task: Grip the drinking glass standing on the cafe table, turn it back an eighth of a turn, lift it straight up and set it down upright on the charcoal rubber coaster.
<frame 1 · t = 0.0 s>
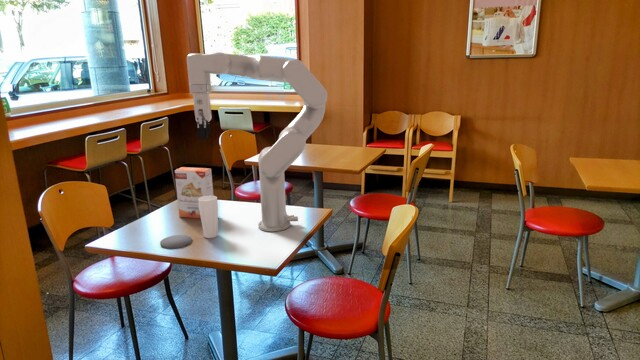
hand: (204, 136, 163), 37 cm above the table, tool pointing down, fingers open, 9 cm apart
cracker box: (197, 216, 188), on the table
drinking glass: (211, 236, 166), on the table
coaster: (176, 242, 161), on the table
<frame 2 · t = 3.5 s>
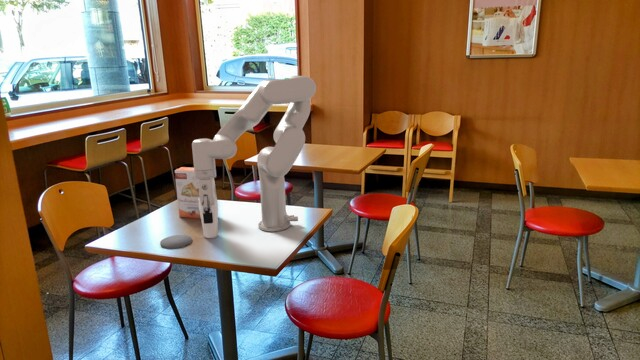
hand: (209, 219, 165), 7 cm above the table, tool pointing down, fingers closed on drinking glass, 6 cm apart
drinking glass: (211, 236, 166), on the table, touching gripper
everything else where it was.
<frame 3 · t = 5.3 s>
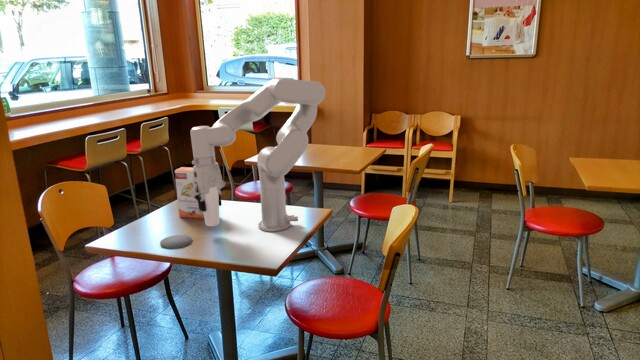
hand: (210, 207, 164), 11 cm above the table, tool pointing down, fingers closed on drinking glass, 6 cm apart
drinking glass: (212, 224, 165), point 4 cm above the table, touching gripper
everything else where it was.
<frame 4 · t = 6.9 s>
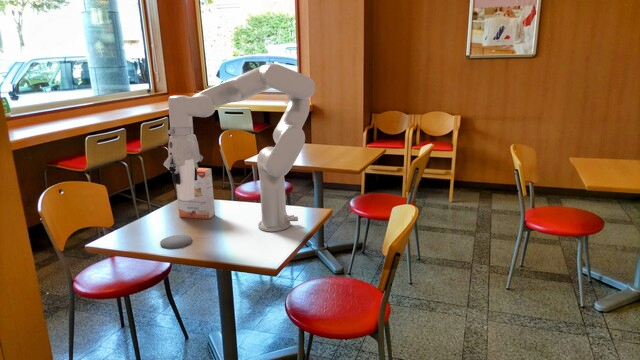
hand: (185, 181, 157), 22 cm above the table, tool pointing down, fingers closed on drinking glass, 6 cm apart
drinking glass: (187, 199, 159), point 15 cm above the table, touching gripper
everything else where it was.
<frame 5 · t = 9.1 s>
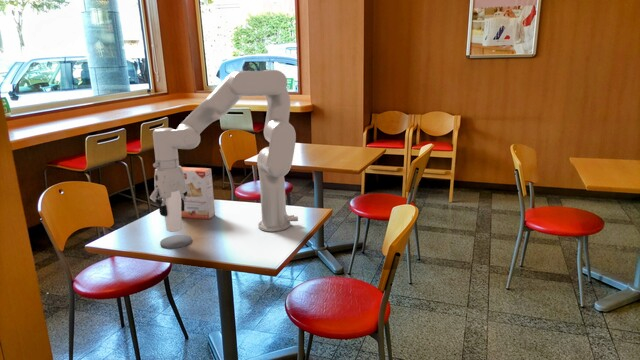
hand: (172, 212, 158), 12 cm above the table, tool pointing down, fingers closed on drinking glass, 6 cm apart
drinking glass: (174, 230, 160), point 5 cm above the table, touching gripper
everything else where it was.
when the fingers open (8 cm above the table, at t = 10.7 s): drinking glass stays where it is, resting on coaster.
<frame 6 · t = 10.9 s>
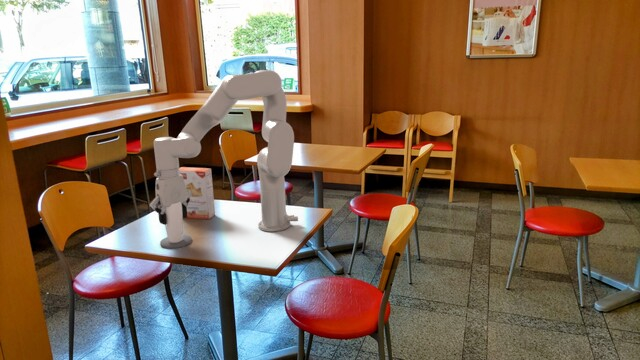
hand: (173, 219, 159), 9 cm above the table, tool pointing down, fingers open, 8 cm apart
drinking glass: (175, 241, 160), point 1 cm above the table, touching coaster
everything else where it was.
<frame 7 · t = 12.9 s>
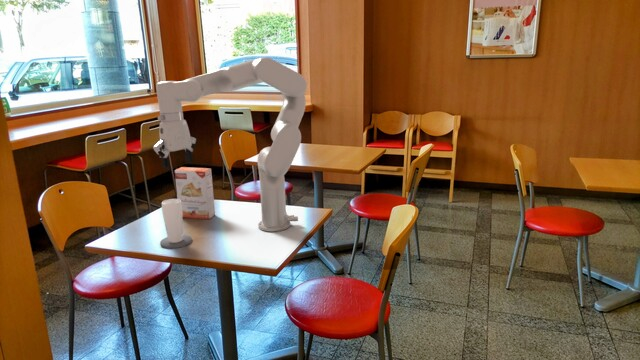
hand: (178, 165, 158), 28 cm above the table, tool pointing down, fingers open, 9 cm apart
nothing on the table moved.
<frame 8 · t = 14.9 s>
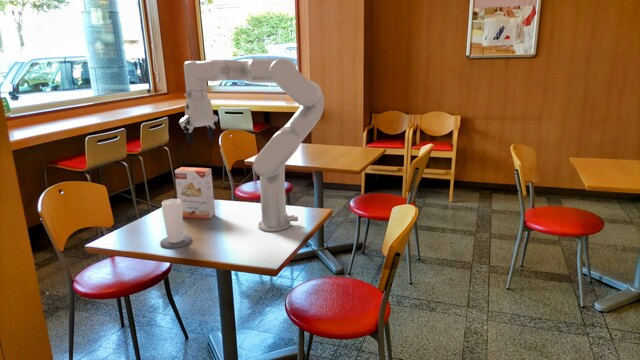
hand: (201, 140, 169), 34 cm above the table, tool pointing down, fingers open, 9 cm apart
nothing on the table moved.
at the end: drinking glass 0.2 cm off-centre on the coaster, point 0.6 cm above the coaster's base; drinking glass tilted 0°; the gripper is holding nothing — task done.
